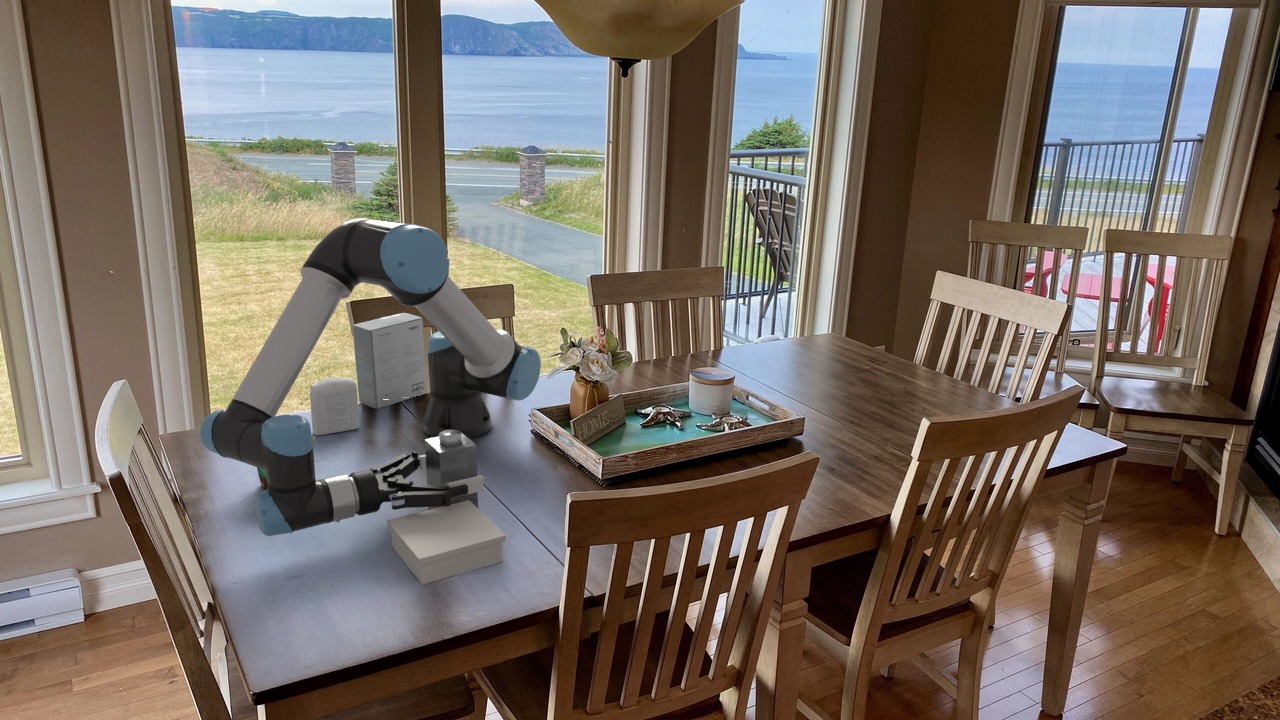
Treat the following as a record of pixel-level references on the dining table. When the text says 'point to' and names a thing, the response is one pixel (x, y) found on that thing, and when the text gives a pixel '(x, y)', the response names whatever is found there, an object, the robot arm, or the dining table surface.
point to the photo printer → (334, 405)
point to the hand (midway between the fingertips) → (467, 468)
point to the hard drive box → (390, 359)
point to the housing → (451, 461)
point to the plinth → (446, 541)
